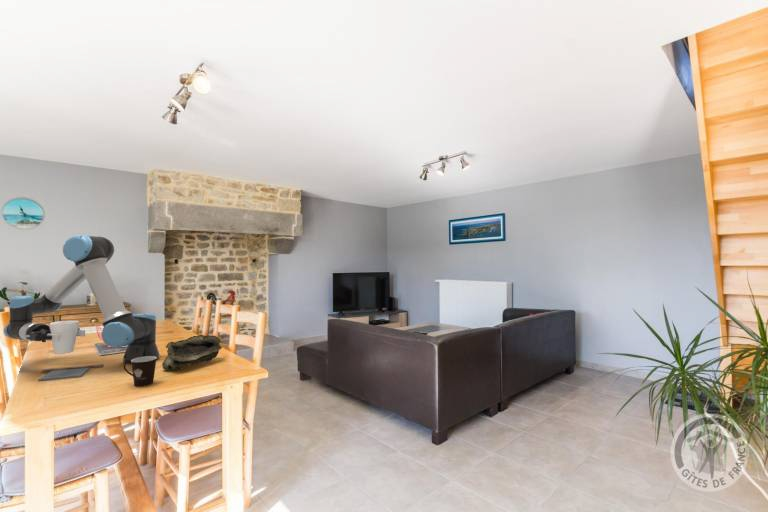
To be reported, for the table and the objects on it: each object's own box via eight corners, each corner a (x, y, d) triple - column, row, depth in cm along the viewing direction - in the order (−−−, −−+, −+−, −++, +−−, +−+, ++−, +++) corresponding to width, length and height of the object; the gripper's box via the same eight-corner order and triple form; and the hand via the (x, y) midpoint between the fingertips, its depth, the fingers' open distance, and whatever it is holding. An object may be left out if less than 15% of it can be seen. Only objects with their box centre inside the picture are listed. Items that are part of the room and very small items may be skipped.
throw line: (103, 366, 171) (103, 364, 171) (102, 367, 169) (102, 365, 169) (42, 372, 162) (42, 369, 162) (41, 373, 161) (41, 370, 161)
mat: (90, 369, 167) (90, 367, 167) (81, 376, 156) (81, 375, 156) (51, 372, 161) (51, 371, 161) (38, 381, 150) (38, 379, 150)
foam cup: (83, 349, 163) (83, 320, 164) (69, 354, 154) (70, 323, 154) (58, 350, 162) (59, 320, 162) (43, 355, 153) (44, 324, 153)
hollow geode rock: (218, 367, 186) (207, 343, 192) (230, 352, 181) (218, 328, 187) (161, 381, 162) (150, 353, 168) (173, 364, 158) (161, 336, 164)
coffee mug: (161, 382, 149) (161, 357, 150) (139, 388, 142) (139, 363, 142) (143, 378, 154) (143, 354, 154) (121, 384, 147) (121, 359, 147)
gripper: (63, 335, 174) (98, 339, 167) (4, 346, 152) (41, 350, 146) (63, 319, 174) (98, 322, 167) (4, 328, 153) (41, 331, 146)
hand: (71, 335), depth 157 cm, fingers closed on foam cup, 9 cm apart
